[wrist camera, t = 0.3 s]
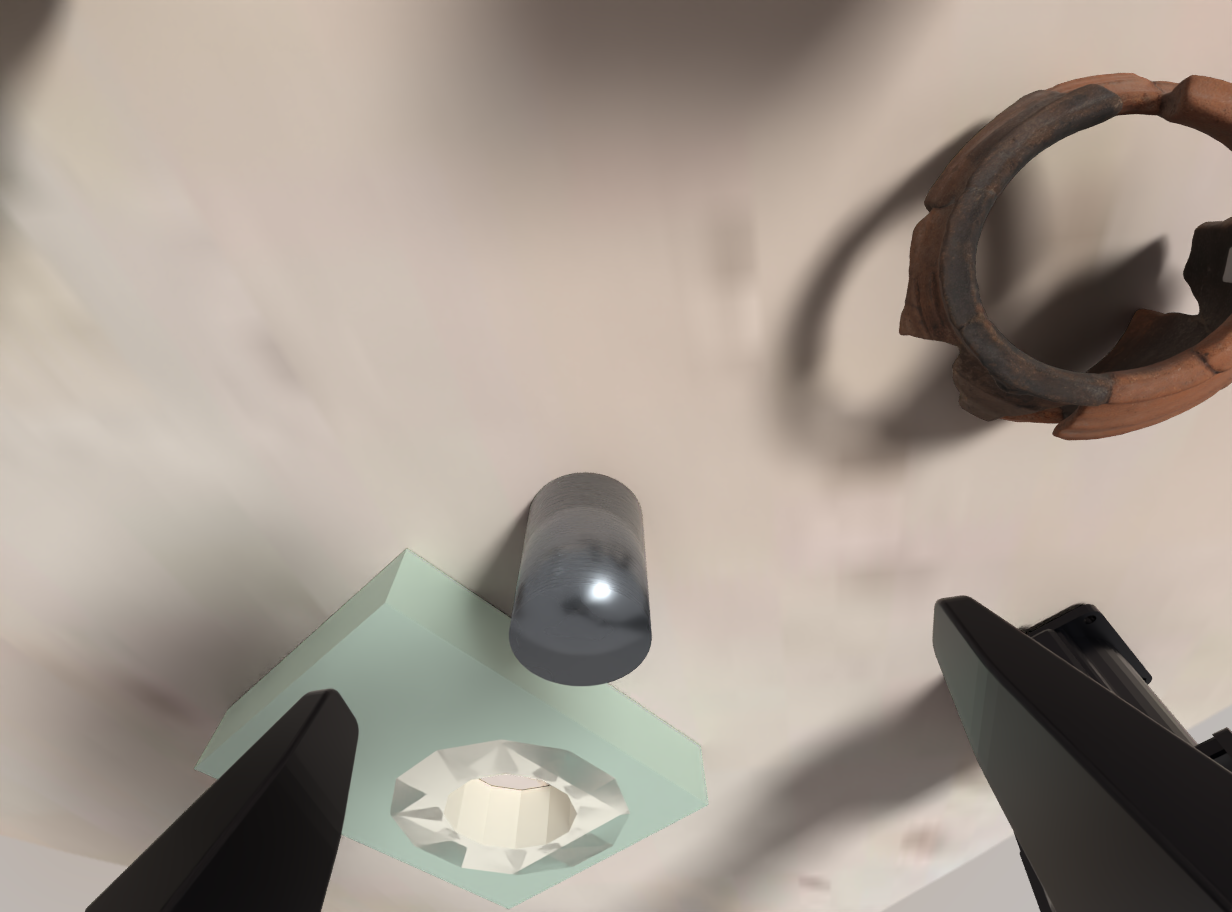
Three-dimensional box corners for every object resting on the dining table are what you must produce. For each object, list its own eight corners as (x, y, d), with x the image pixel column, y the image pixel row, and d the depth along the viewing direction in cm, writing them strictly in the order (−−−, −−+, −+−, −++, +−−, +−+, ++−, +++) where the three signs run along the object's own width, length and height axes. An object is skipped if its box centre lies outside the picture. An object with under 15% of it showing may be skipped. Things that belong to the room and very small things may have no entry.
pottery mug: (891, 435, 24) (917, 468, 16) (875, 169, 23) (894, 70, 15) (1313, 406, 20) (1612, 430, 12) (1315, 84, 19) (1638, -107, 11)
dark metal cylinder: (666, 520, 25) (681, 639, 20) (586, 580, 27) (581, 704, 22) (584, 451, 24) (579, 562, 19) (505, 519, 25) (479, 638, 20)
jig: (700, 746, 33) (708, 804, 30) (515, 851, 38) (508, 909, 35) (406, 548, 26) (385, 602, 23) (227, 709, 31) (193, 768, 28)
